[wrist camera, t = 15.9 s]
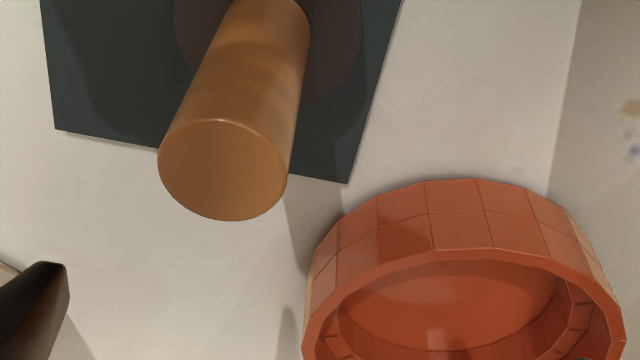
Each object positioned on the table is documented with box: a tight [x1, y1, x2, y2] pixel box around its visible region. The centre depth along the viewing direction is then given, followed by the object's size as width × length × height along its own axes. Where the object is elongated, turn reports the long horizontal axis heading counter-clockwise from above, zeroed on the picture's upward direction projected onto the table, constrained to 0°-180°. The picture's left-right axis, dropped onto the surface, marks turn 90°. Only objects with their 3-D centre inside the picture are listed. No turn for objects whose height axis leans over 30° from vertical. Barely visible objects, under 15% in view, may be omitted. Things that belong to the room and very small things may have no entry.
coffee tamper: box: [157, 0, 361, 221], centre depth 15 cm, size 6×6×10 cm
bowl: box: [301, 178, 627, 360], centre depth 25 cm, size 13×13×4 cm
